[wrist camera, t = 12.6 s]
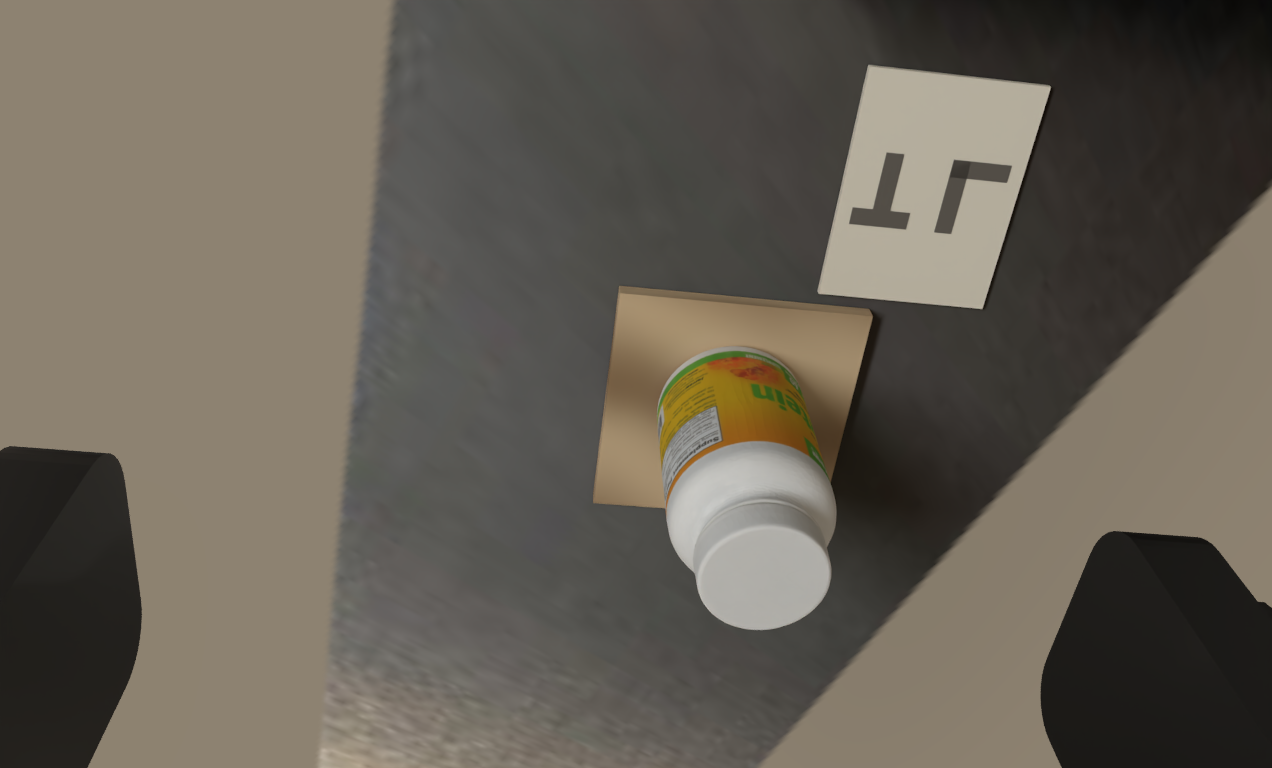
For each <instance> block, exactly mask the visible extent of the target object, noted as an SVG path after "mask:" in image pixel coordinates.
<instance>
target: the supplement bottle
mask: <svg viewBox="0 0 1272 768" xmlns="http://www.w3.org/2000/svg"><path fill="white" fill-rule="evenodd" d="M657 428H658V437H659V447H660V457H661V468H662V480H663V488H664V498H665V508H666V520H667V525H668V530H669V536H670V539H671V542H672V544H673V546H674V549H675V550H676V552H677V554H678V556H679V557H680V558H681V560H682V561H683V562H684V563H685V564H686V565H687V567H689V568H690V569H691V570H692V571H693V572H694V573H695V576H696V582H697V588H698V592H699V595H700V597H701V600H702V601H703V603H704V605H705V606H706V607H707V608H708V610H709V611H710V612H711V613H712V614H713V615H714V616H716V617H717V618H719V619H720V620H722V621H723V622H725V623H727V624H730V625H732V626H735V627H739V628H743V629H751V630H767V629H774V628H779V627H782V626H786V625H789V624H791V623H793V622H796V621H798V620H800V619H801V618H803V617H804V616H806V615H807V614H809V613H810V612H811V611H813V610H814V609H815V608H816V607H817V606H818V604H819V603H820V602H821V601H822V599H823V598H824V596H825V594H826V593H827V590H828V588H829V584H830V580H831V563H830V559H829V555H828V551H827V546H828V544H829V542H830V540H831V538H832V535H833V533H834V529H835V525H836V514H837V511H836V501H835V497H834V493H833V489H832V486H831V483H830V480H829V477H828V474H827V471H826V468H825V465H824V462H823V458H822V455H821V452H820V449H819V446H818V443H817V439H816V436H815V433H814V430H813V427H812V423H811V420H810V417H809V414H808V411H807V407H806V404H805V400H804V397H803V394H802V392H801V389H800V386H799V384H798V382H797V380H796V378H795V377H794V375H793V374H792V372H791V371H790V370H789V369H788V368H787V367H786V366H785V365H784V364H783V363H782V362H781V361H779V360H778V359H777V358H775V357H773V356H772V355H770V354H768V353H765V352H763V351H760V350H757V349H754V348H749V347H742V346H727V347H719V348H714V349H710V350H707V351H704V352H702V353H700V354H698V355H696V356H694V357H692V358H691V359H689V360H687V361H686V362H685V363H683V364H682V365H681V366H680V367H679V368H677V369H676V371H675V372H674V373H673V374H672V375H671V376H670V378H669V379H668V380H667V382H666V384H665V386H664V387H663V390H662V392H661V395H660V398H659V402H658V408H657Z"/></svg>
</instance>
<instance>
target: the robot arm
mask: <svg viewBox="0 0 1272 768" xmlns="http://www.w3.org/2000/svg"><path fill="white" fill-rule="evenodd" d="M141 611H142V608H141V597H140V590H139V582H138V575H137V568H136V560H135V553H134V546H133V538H132V531H131V524H130V516H129V509H128V502H127V494H126V487H125V480H124V475H123V471H122V468H121V465H120V463H119V461H118V459H117V458H116V457H115V456H114V455H112V454H109V453H108V454H107V453H94V452H81V451H68V450H55V449H41V448H28V447H15V446H14V447H13V446H9V447H6V448H4V449H2V450H1V451H0V768H87V767H88V765H89V763H90V761H91V759H92V757H93V755H94V753H95V751H96V749H97V746H98V744H99V742H100V740H101V738H102V736H103V734H104V732H105V730H106V728H107V725H108V723H109V721H110V719H111V717H112V715H113V713H114V711H115V709H116V707H117V705H118V703H119V700H120V699H121V696H122V694H123V692H124V690H125V688H126V686H127V684H128V681H129V679H130V676H131V673H132V670H133V666H134V664H135V660H136V656H137V651H138V646H139V640H140V632H141V618H142V616H141V615H142V612H141ZM1041 709H1042V716H1043V722H1044V726H1045V729H1046V733H1047V735H1048V738H1049V741H1050V743H1051V745H1052V747H1053V749H1054V752H1055V754H1056V756H1057V758H1058V760H1059V763H1060V765H1061V767H1062V768H1272V608H1271V607H1270V606H1268V605H1267V604H1266V603H1264V602H1257V600H1256V599H1255V598H1254V596H1253V595H1252V594H1251V593H1250V591H1249V590H1248V589H1247V587H1246V586H1245V585H1244V583H1243V582H1242V581H1241V580H1240V578H1239V577H1238V576H1237V574H1236V573H1235V572H1234V570H1233V569H1232V568H1231V567H1230V565H1229V564H1228V563H1227V561H1226V560H1225V559H1224V557H1223V556H1222V555H1221V554H1220V552H1219V551H1218V550H1217V549H1216V548H1215V547H1214V546H1213V545H1212V544H1211V543H1209V542H1208V541H1206V540H1204V539H1202V538H1198V537H1186V536H1173V535H1159V534H1146V533H1145V534H1144V533H1132V532H1119V531H1113V532H1109V533H1107V534H1105V535H1104V536H1102V537H1101V538H1100V539H1099V540H1098V542H1097V543H1096V544H1095V546H1094V548H1093V550H1092V552H1091V554H1090V556H1089V558H1088V561H1087V563H1086V566H1085V568H1084V570H1083V573H1082V575H1081V578H1080V580H1079V582H1078V585H1077V587H1076V590H1075V592H1074V594H1073V597H1072V599H1071V602H1070V604H1069V607H1068V609H1067V611H1066V614H1065V616H1064V619H1063V621H1062V623H1061V626H1060V628H1059V631H1058V633H1057V635H1056V638H1055V640H1054V643H1053V645H1052V648H1051V650H1050V652H1049V655H1048V657H1047V660H1046V663H1045V666H1044V670H1043V674H1042V681H1041Z"/></svg>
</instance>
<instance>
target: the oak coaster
mask: <svg viewBox="0 0 1272 768" xmlns="http://www.w3.org/2000/svg"><path fill="white" fill-rule="evenodd" d="M872 318H873V316H872V314H871V311H870V309H865V308H854V307H843V306H833V305H822V304H811V303H800V302H790V301H779V300H768V299H757V298H747V297H736V296H725V295H714V294H703V293H693V292H682V291H671V290H660V289H650V288H639V287H628V286H619V292H618V300H617V308H616V316H615V324H614V332H613V340H612V348H611V356H610V364H609V372H608V380H607V388H606V396H605V404H604V412H603V420H602V428H601V436H600V444H599V452H598V460H597V468H596V476H595V484H594V492H593V503H601V504H615V505H628V506H642V507H655V508H665V498H664V488H663V480H662V468H661V457H660V447H659V437H658V428H657V408H658V402H659V398H660V395H661V392H662V390H663V387H664V386H665V384H666V382H667V380H668V379H669V378H670V376H671V375H672V374H673V373H674V372H675V371H676V369H677V368H679V367H680V366H681V365H682V364H683V363H685V362H686V361H687V360H689V359H691V358H692V357H694V356H696V355H698V354H700V353H702V352H704V351H707V350H710V349H714V348H719V347H727V346H742V347H749V348H754V349H757V350H760V351H763V352H765V353H768V354H770V355H772V356H773V357H775V358H777V359H778V360H779V361H781V362H782V363H783V364H784V365H785V366H786V367H787V368H788V369H789V370H790V371H791V372H792V374H793V375H794V377H795V378H796V380H797V382H798V384H799V386H800V389H801V392H802V394H803V397H804V400H805V404H806V407H807V411H808V414H809V417H810V420H811V423H812V427H813V430H814V433H815V436H816V439H817V443H818V446H819V449H820V452H821V455H822V458H823V462H824V465H825V468H826V471H827V474H828V477H829V480H830V483H831V479H832V475H833V471H834V467H835V463H836V459H837V455H838V452H839V448H840V444H841V440H842V436H843V432H844V428H845V424H846V420H847V416H848V412H849V408H850V405H851V401H852V397H853V393H854V389H855V385H856V381H857V377H858V373H859V369H860V365H861V361H862V358H863V354H864V350H865V346H866V342H867V338H868V334H869V330H870V326H871V322H872Z"/></svg>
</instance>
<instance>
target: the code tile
mask: <svg viewBox="0 0 1272 768" xmlns="http://www.w3.org/2000/svg"><path fill="white" fill-rule="evenodd" d="M1050 89H1051V87H1050V86H1049V85H1042V84H1033V83H1025V82H1016V81H1007V80H998V79H990V78H981V77H972V76H963V75H955V74H946V73H937V72H928V71H920V70H911V69H902V68H893V67H885V66H876V65H868V68H867V72H866V77H865V81H864V86H863V90H862V95H861V99H860V104H859V108H858V113H857V117H856V121H855V126H854V130H853V135H852V139H851V144H850V148H849V153H848V157H847V162H846V166H845V171H844V175H843V179H842V184H841V188H840V193H839V197H838V202H837V206H836V211H835V215H834V220H833V224H832V228H831V233H830V237H829V242H828V246H827V251H826V255H825V260H824V264H823V269H822V273H821V278H820V282H819V286H818V294H828V295H838V296H849V297H860V298H870V299H881V300H892V301H902V302H913V303H924V304H934V305H945V306H956V307H966V308H977V309H983V306H984V302H985V299H986V296H987V293H988V289H989V286H990V283H991V280H992V276H993V273H994V270H995V267H996V264H997V260H998V257H999V254H1000V251H1001V247H1002V244H1003V241H1004V238H1005V234H1006V231H1007V228H1008V225H1009V222H1010V218H1011V215H1012V212H1013V209H1014V205H1015V202H1016V199H1017V196H1018V192H1019V189H1020V186H1021V183H1022V179H1023V176H1024V173H1025V170H1026V167H1027V163H1028V160H1029V157H1030V154H1031V150H1032V147H1033V144H1034V141H1035V137H1036V134H1037V131H1038V128H1039V125H1040V121H1041V118H1042V115H1043V112H1044V108H1045V105H1046V102H1047V99H1048V95H1049V92H1050Z"/></svg>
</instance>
